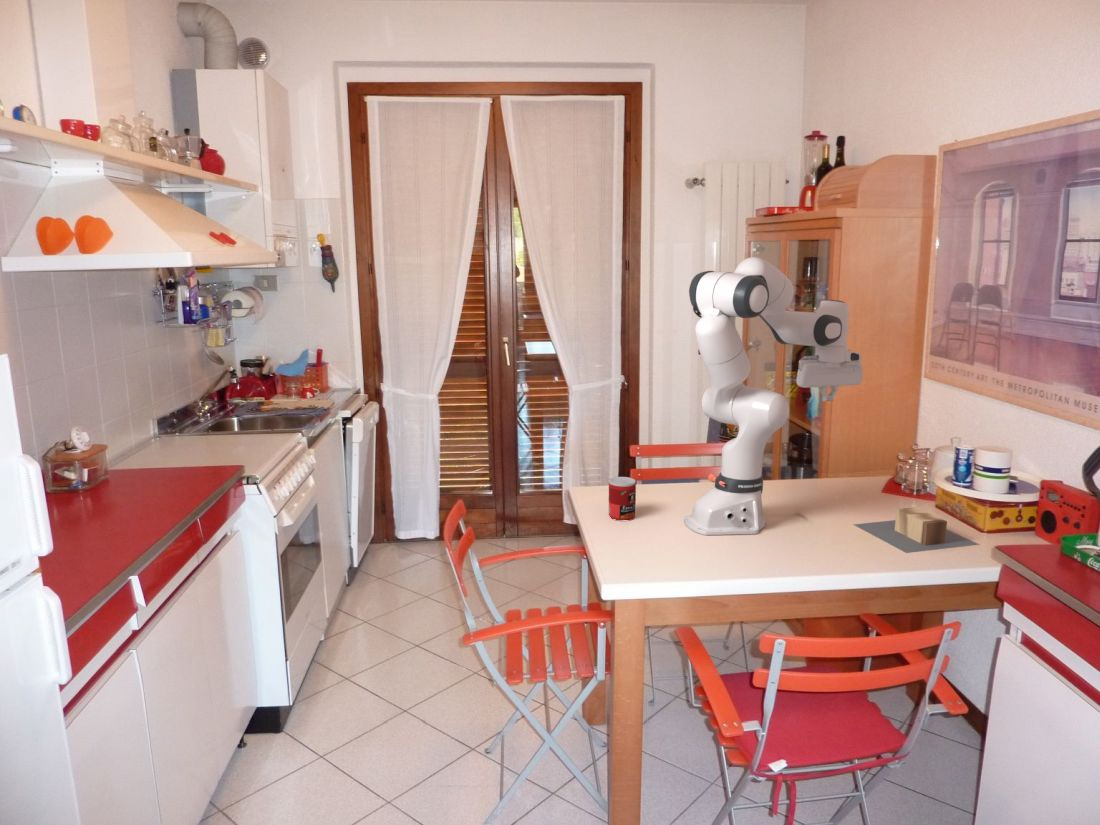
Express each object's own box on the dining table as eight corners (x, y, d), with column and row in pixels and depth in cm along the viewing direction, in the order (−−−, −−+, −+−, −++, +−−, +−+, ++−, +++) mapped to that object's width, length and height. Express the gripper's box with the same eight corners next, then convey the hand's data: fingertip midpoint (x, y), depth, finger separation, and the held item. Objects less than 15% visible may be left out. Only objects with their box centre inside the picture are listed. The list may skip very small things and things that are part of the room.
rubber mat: (906, 555, 202) (906, 552, 202) (852, 526, 223) (853, 524, 222) (979, 546, 207) (979, 544, 207) (920, 519, 228) (920, 517, 228)
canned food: (622, 523, 226) (623, 485, 224) (602, 516, 232) (603, 480, 230) (641, 517, 231) (641, 480, 229) (621, 510, 237) (621, 475, 235)
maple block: (894, 530, 218) (925, 545, 206) (896, 509, 216) (927, 523, 205) (913, 528, 219) (944, 543, 208) (915, 507, 218) (947, 521, 207)
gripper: (805, 357, 231) (802, 404, 234) (867, 354, 236) (863, 401, 239) (793, 354, 237) (791, 400, 240) (854, 352, 242) (851, 397, 245)
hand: (827, 400), depth 239 cm, fingers closed
